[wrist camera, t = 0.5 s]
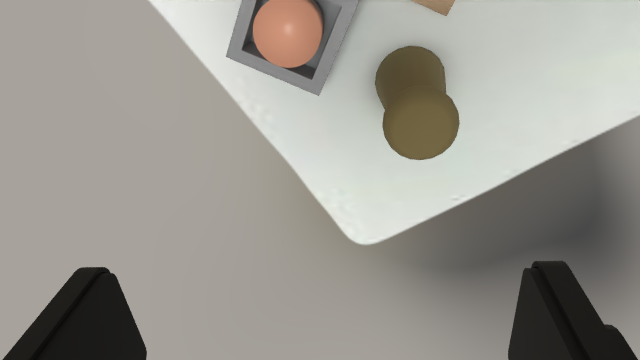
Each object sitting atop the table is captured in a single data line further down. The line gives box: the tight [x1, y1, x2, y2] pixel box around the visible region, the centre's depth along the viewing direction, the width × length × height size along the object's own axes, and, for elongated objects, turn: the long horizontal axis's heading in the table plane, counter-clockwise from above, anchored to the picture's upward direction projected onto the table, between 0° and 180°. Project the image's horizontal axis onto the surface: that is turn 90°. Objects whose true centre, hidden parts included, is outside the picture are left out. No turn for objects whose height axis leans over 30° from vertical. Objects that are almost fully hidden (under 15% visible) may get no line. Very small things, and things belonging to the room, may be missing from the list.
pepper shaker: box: [375, 46, 459, 160], centre depth 34 cm, size 6×6×11 cm
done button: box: [253, 0, 324, 68], centre depth 33 cm, size 5×5×3 cm
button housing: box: [226, 0, 359, 96], centre depth 35 cm, size 8×8×4 cm
